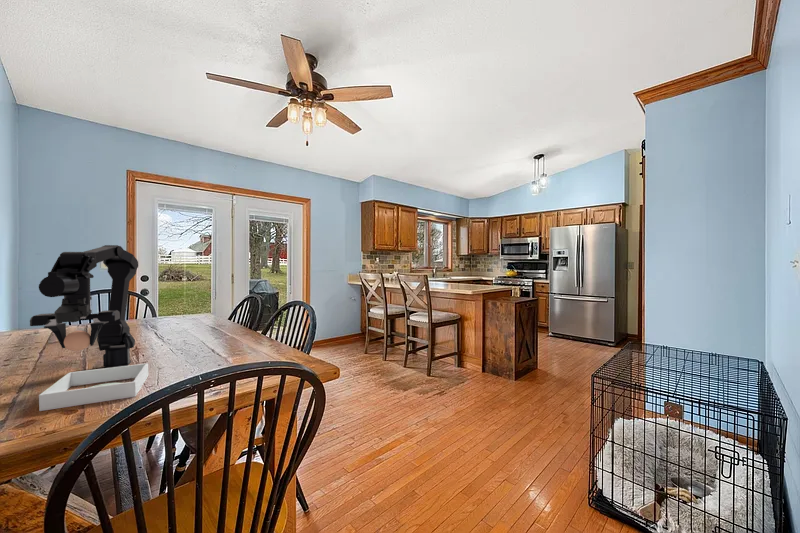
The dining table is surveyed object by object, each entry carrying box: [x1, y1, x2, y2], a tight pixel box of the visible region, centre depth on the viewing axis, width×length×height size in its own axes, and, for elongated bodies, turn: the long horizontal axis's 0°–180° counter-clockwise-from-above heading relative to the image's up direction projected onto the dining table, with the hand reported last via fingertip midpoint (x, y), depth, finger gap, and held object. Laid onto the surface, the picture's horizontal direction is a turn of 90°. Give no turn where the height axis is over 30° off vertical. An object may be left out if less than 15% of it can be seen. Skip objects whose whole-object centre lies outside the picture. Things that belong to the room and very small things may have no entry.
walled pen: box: [38, 362, 149, 412], centre depth 98 cm, size 19×19×4 cm
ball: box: [64, 330, 91, 352], centre depth 101 cm, size 6×6×6 cm
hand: (78, 346), depth 101 cm, fingers closed on ball, 6 cm apart
